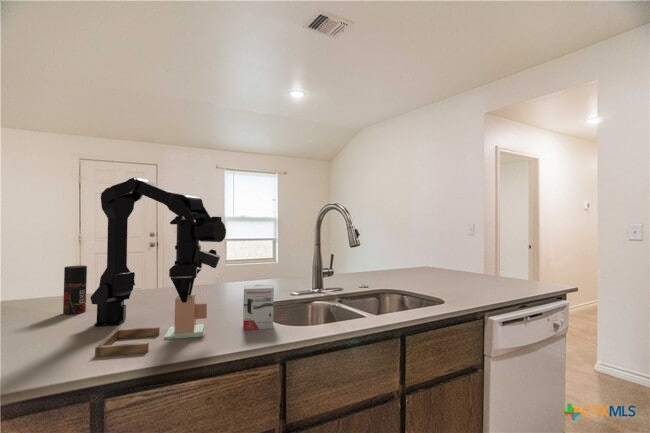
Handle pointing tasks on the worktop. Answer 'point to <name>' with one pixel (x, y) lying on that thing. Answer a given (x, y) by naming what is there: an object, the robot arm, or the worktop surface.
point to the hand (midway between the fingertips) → (186, 298)
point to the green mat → (196, 333)
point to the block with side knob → (188, 314)
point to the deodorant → (74, 290)
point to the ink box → (258, 306)
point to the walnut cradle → (108, 349)
